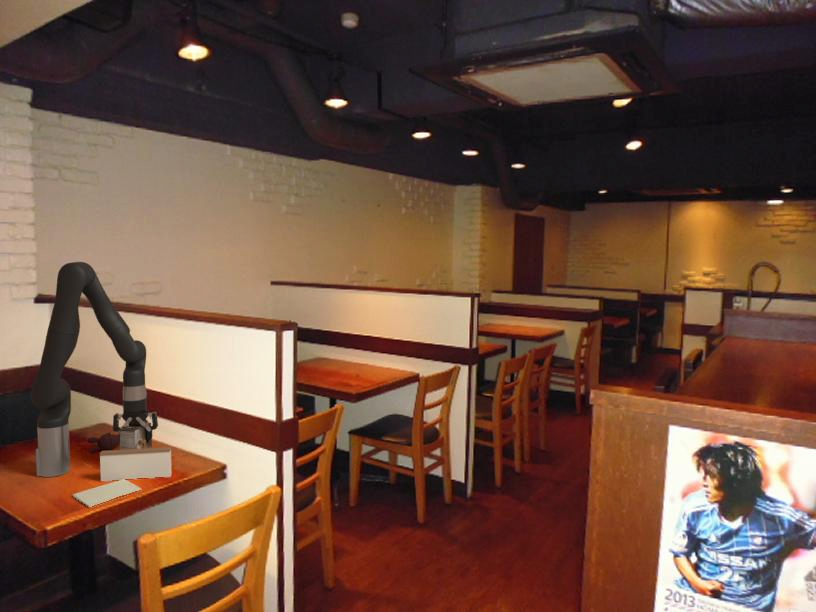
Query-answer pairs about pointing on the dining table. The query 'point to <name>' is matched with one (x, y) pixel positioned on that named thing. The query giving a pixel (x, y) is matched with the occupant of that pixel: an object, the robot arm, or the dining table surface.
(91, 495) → the mat
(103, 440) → the icecream
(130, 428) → the coffee box
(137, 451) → the flat box
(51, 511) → the dining table surface
